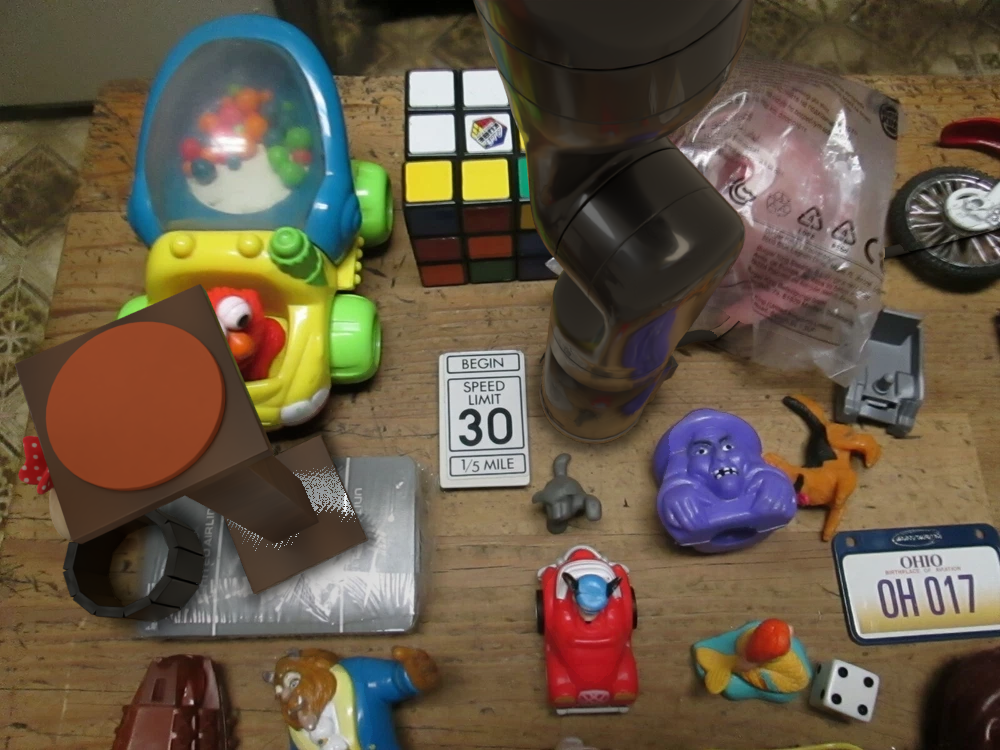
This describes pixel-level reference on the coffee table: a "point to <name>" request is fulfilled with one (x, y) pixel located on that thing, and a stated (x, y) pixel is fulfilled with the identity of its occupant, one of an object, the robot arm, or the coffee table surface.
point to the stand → (209, 464)
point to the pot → (169, 594)
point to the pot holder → (135, 406)
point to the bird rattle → (42, 481)
